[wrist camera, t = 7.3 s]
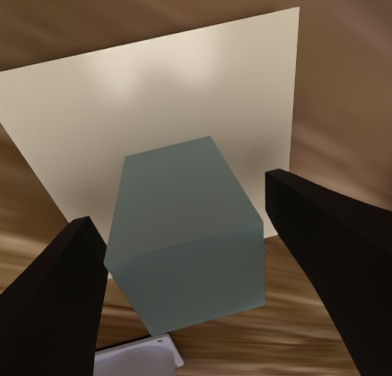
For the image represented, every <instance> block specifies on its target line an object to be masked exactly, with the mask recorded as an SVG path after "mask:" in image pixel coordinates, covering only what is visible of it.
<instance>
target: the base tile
mask: <svg viewBox="0 0 392 376" xmlns="http://www.w3.org/2000/svg"><path fill="white" fill-rule="evenodd" d="M298 21H299V7H296V8H291V9H286V10H281V11H277V12H272V13H267V14H263V15H258V16H254V17H249V18H244V19H240V20H235V21H231V22H226V23H222V24H217V25H212V26H208V27H203V28H199V29H194V30H189V31H185V32H180V33H176V34H171V35H167V36H162V37H157V38H153V39H148V40H144V41H139V42H134V43H130V44H125V45H121V46H116V47H112V48H107V49H102V50H98V51H93V52H89V53H84V54H80V55H75V56H70V57H66V58H61V59H57V60H52V61H47V62H43V63H38V64H34V65H29V66H25V67H20V68H15V69H11V70H6V71H2V72H0V123H1V124H2V126H3V127H4V128H5V130H6V131H7V133H8V134H9V136H10V137H11V139H12V140H13V142H14V143H15V145H16V146H17V148H18V149H19V150H20V152H21V153H22V155H23V156H24V158H25V159H26V161H27V162H28V164H29V165H30V167H31V168H32V169H33V171H34V172H35V174H36V175H37V177H38V178H39V180H40V181H41V183H42V184H43V186H44V187H45V188H46V190H47V191H48V193H49V194H50V196H51V197H52V199H53V200H54V202H55V203H56V205H57V206H58V208H59V209H60V210H61V212H62V213H63V215H64V216H65V218H66V219H67V221H68V222H69V223H70V222H71V221H72V220H73V219H77V218H81V217H85V216H89V217H90V218H91V220H92V222H93V223H94V225H95V227H96V228H97V230H98V232H99V233H100V235H101V237H102V238H103V240H104V242H105V243H106V245H107V244H108V239H109V234H110V229H111V224H112V219H113V214H114V209H115V205H116V200H117V195H118V190H119V185H120V180H121V175H122V170H123V165H124V160H125V156H129V155H133V154H137V153H142V152H146V151H150V150H154V149H158V148H162V147H166V146H170V145H174V144H178V143H183V142H187V141H191V140H195V139H199V138H203V137H207V136H210V137H211V138H212V140H213V141H214V143H215V145H216V146H217V148H218V150H219V151H220V153H221V154H222V156H223V158H224V159H225V161H226V162H227V164H228V166H229V167H230V169H231V170H232V172H233V174H234V175H235V177H236V178H237V180H238V182H239V183H240V185H241V186H242V188H243V190H244V191H245V193H246V194H247V196H248V198H249V199H250V201H251V202H252V204H253V206H254V207H255V209H256V210H257V212H258V214H259V215H260V217H261V218H262V220H263V222H264V238H267V237H271V236H274V235H278V233H277V232H276V230H275V229H274V227H273V225H272V223H271V221H270V219H269V217H268V215H267V213H266V211H265V172H266V171H270V170H274V169H278V168H280V169H283V170H285V171H288V172H289V160H290V145H291V129H292V114H293V98H294V83H295V68H296V52H297V37H298ZM109 278H113V277H112V276H111V274H110V273H108V279H109Z"/></svg>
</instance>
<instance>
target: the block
mask: <svg viewBox="0 0 392 376" xmlns="http://www.w3.org/2000/svg"><path fill="white" fill-rule="evenodd" d="M104 265H105V267H106V268H107V270H108V271H109V273H110V274H111V276H112V277H113V279H114V280H115V282H116V283H117V285H118V286H119V288H120V289H121V291H122V292H123V294H124V295H125V297H126V298H127V300H128V301H129V303H130V304H131V306H132V307H133V309H134V310H135V312H136V313H137V315H138V316H139V318H140V319H141V321H142V322H143V324H144V325H145V327H146V328H147V330H148V331H149V333H150V334H151V336H155V335H159V334H163V333H166V332H170V331H173V330H177V329H181V328H184V327H188V326H192V325H195V324H199V323H202V322H206V321H210V320H213V319H217V318H220V317H224V316H228V315H231V314H235V313H239V312H242V311H246V310H249V309H253V308H257V307H260V306H264V305H265V275H264V222H263V220H262V218H261V217H260V215H259V214H258V212H257V210H256V209H255V207H254V206H253V204H252V202H251V201H250V199H249V198H248V196H247V194H246V193H245V191H244V190H243V188H242V186H241V185H240V183H239V182H238V180H237V178H236V177H235V175H234V174H233V172H232V170H231V169H230V167H229V166H228V164H227V162H226V161H225V159H224V158H223V156H222V154H221V153H220V151H219V150H218V148H217V146H216V145H215V143H214V141H213V140H212V138H211V137H210V136H207V137H203V138H199V139H195V140H191V141H187V142H183V143H178V144H174V145H170V146H166V147H162V148H158V149H154V150H150V151H146V152H142V153H137V154H133V155H129V156H125V160H124V165H123V170H122V175H121V180H120V185H119V190H118V195H117V200H116V205H115V209H114V214H113V219H112V224H111V229H110V234H109V239H108V244H107V249H106V254H105V259H104Z"/></svg>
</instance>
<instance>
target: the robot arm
mask: <svg viewBox="0 0 392 376" xmlns="http://www.w3.org/2000/svg"><path fill="white" fill-rule="evenodd" d="M265 211H266V213H267V215H268V217H269V219H270V221H271V223H272V225H273V227H274V229H275V230H276V232H277V233H278V235H279V236H280V238H281V239H282V241H283V242H284V244H285V245H286V247H287V248H288V249H289V251H290V252H291V254H292V255H293V257H294V258H295V259H296V261H297V262H298V264H299V265H300V267H301V268H302V270H303V271H304V272H305V274H306V275H307V277H308V278H309V280H310V282H311V283H312V285H313V286H314V288H315V290H316V292H317V293H318V295H319V297H320V299H321V300H322V302H323V304H324V306H325V308H326V309H327V311H328V313H329V315H330V317H331V319H332V320H333V322H334V324H335V326H336V328H337V330H338V332H339V334H340V335H341V337H342V339H343V341H344V343H345V345H346V347H347V349H348V351H349V353H350V355H351V357H352V359H353V361H354V363H355V365H356V367H357V369H358V371H359V373H360V375H361V376H392V211H389V210H386V209H382V208H379V207H376V206H373V205H370V204H367V203H364V202H361V201H358V200H356V199H353V198H350V197H348V196H345V195H342V194H340V193H337V192H335V191H332V190H330V189H327V188H325V187H322V186H320V185H318V184H315V183H313V182H311V181H308V180H306V179H304V178H302V177H299V176H297V175H295V174H292V173H290V172H288V171H285V170H283V169H280V168H278V169H274V170H270V171H266V172H265ZM106 249H107V245H106V243H105V242H104V240H103V238H102V237H101V235H100V233H99V232H98V230H97V228H96V227H95V225H94V223H93V222H92V220H91V218H90V217H89V216H85V217H81V218H77V219H73V220H72V221H71V222H70V223H69V224H68V225H67V226H66V227H65V228H64V229H63V230H62V231H61V232H60V233H59V234H58V235H57V237H56V238H55V239H54V240H53V241H52V242H51V243H50V244H49V245H48V246H47V247H46V248H45V249H44V251H43V252H42V253H41V254H40V255H39V256H38V257H37V258H36V259H35V260H34V261H33V262H32V263H31V264H30V265H29V266H28V267H27V268H26V269H25V270H24V271H23V272H22V273H21V274H20V275H19V276H18V277H17V278H16V279H15V281H14V282H13V283H12V284H11V285H10V286H9V287H8V288H7V289H6V290H5V291H4V292H3V293H1V294H0V376H176V367H179V366H182V365H183V364H184V362H183V359H182V357H181V355H180V353H179V351H178V350H177V348H176V346H175V344H174V342H173V341H172V339H171V337H170V335H169V334H168V333H164V334H160V335H156V336H153V337H149V338H145V339H142V340H138V341H134V342H131V343H127V344H123V345H120V346H116V347H112V348H109V349H105V350H101V351H98V352H95V349H96V341H97V334H98V328H99V323H100V318H101V312H102V307H103V301H104V296H105V291H106V285H107V279H108V273H109V271H108V270H107V268H106V267H105V265H104V259H105V254H106Z"/></svg>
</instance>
